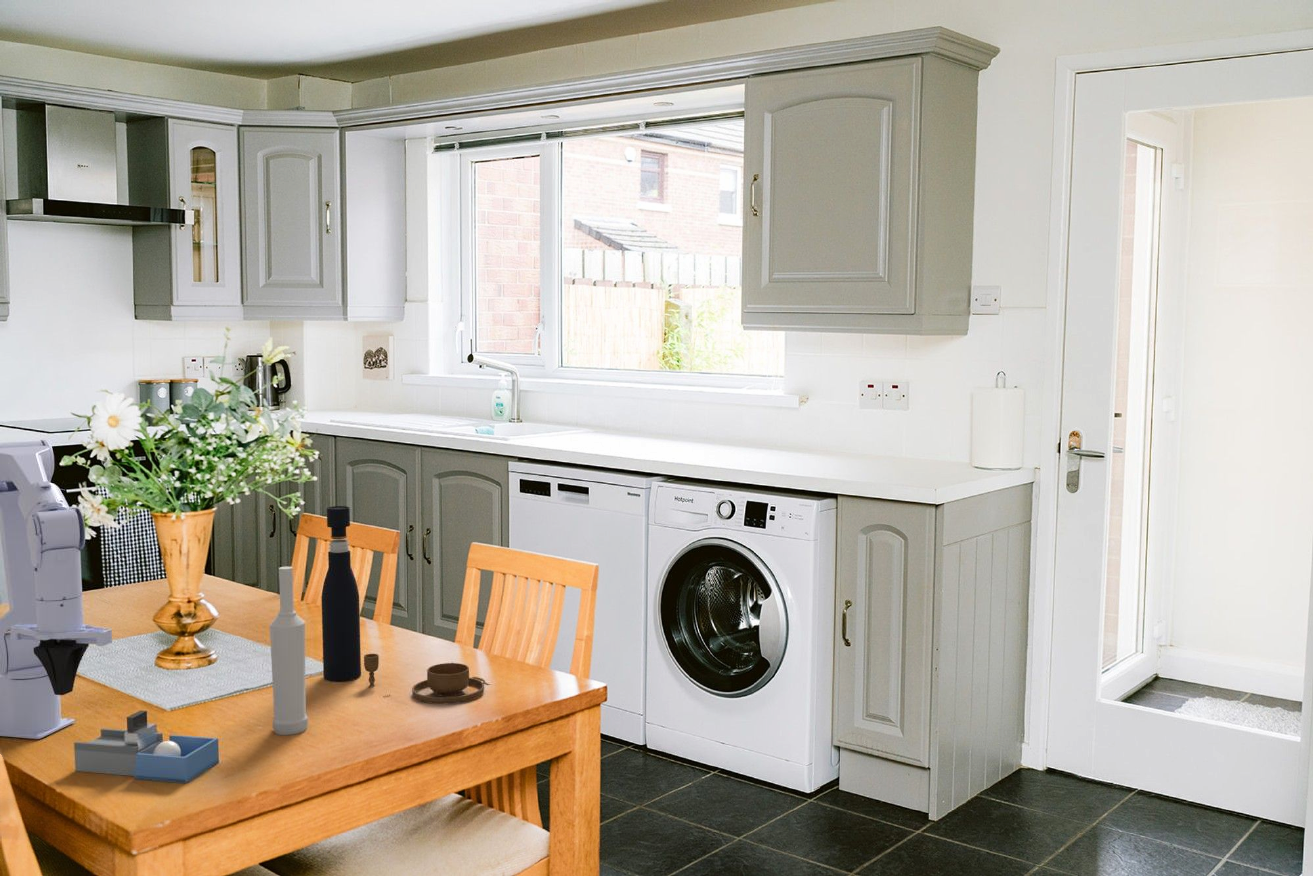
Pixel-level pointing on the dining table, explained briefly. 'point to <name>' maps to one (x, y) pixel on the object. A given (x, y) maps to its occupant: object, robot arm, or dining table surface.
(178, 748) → the ball
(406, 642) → the dining table surface
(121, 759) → the open gray tray
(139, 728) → the grey angular hollow piece
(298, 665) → the bottle
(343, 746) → the dining table surface
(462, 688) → the place setting
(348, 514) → the wine bottle
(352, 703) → the dining table surface
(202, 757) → the open box
